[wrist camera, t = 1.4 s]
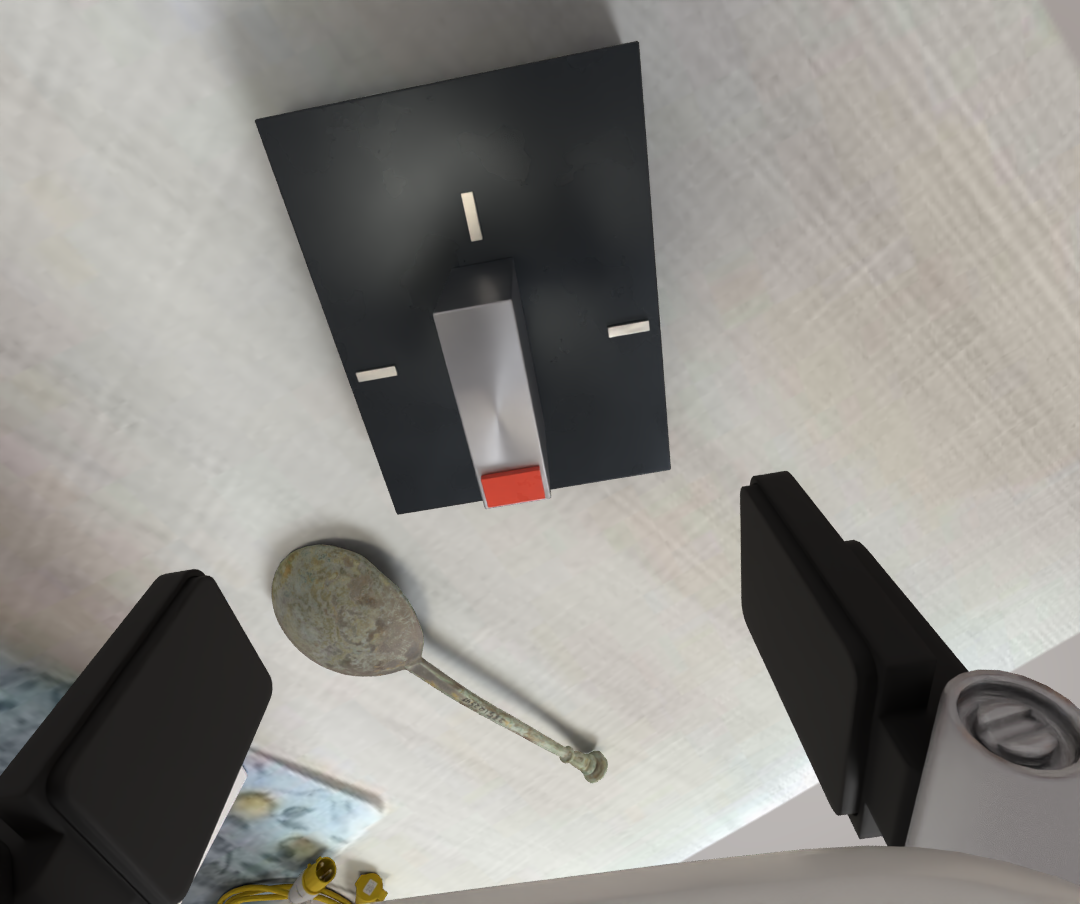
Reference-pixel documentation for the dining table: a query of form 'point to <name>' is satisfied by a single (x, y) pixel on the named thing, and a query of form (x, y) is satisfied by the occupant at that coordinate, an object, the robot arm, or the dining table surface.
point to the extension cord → (311, 888)
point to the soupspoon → (377, 633)
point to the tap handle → (494, 381)
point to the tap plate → (487, 258)
